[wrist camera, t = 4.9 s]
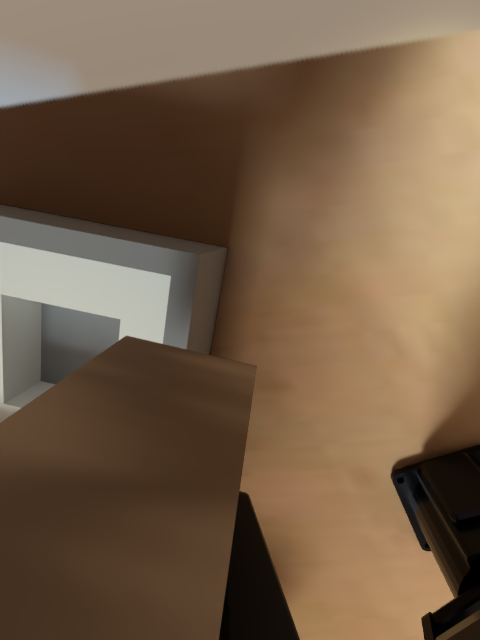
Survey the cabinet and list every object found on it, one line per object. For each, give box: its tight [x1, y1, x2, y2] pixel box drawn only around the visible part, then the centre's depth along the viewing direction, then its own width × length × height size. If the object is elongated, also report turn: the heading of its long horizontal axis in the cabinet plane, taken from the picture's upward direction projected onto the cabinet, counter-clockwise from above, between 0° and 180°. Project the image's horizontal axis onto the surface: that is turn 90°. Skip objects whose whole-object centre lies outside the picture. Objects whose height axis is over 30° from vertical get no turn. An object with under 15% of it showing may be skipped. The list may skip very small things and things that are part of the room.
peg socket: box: [0, 204, 228, 423], centre depth 18 cm, size 15×15×7 cm
